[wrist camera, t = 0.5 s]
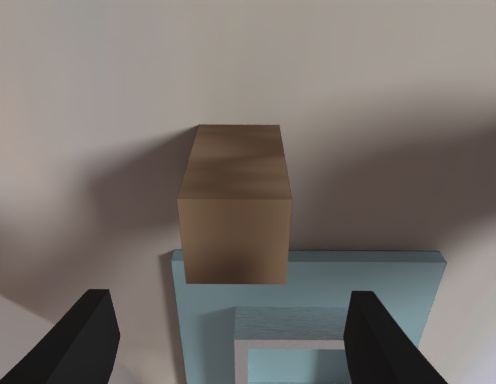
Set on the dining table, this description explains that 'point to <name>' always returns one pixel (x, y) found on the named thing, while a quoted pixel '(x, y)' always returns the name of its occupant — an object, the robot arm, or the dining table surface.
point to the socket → (286, 333)
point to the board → (300, 295)
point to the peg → (235, 206)
